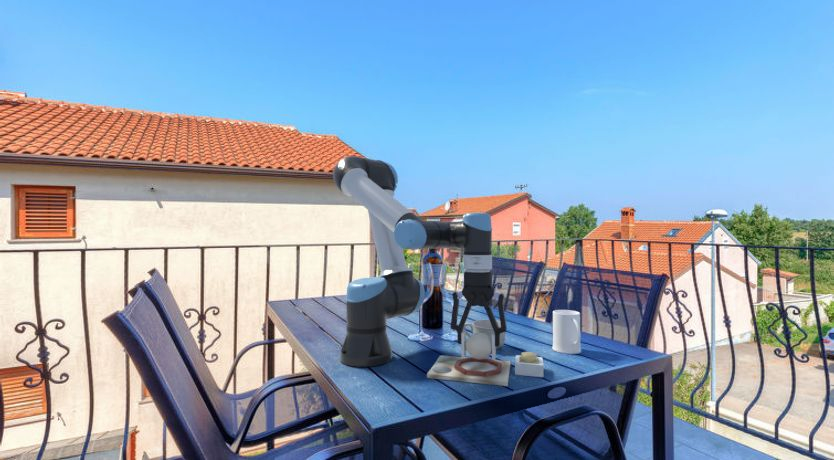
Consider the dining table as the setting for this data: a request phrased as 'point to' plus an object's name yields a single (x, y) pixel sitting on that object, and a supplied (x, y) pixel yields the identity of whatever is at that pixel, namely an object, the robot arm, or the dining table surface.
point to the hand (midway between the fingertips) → (478, 357)
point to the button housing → (529, 367)
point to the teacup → (485, 329)
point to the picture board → (471, 370)
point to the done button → (529, 357)
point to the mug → (566, 331)
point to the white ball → (479, 345)
